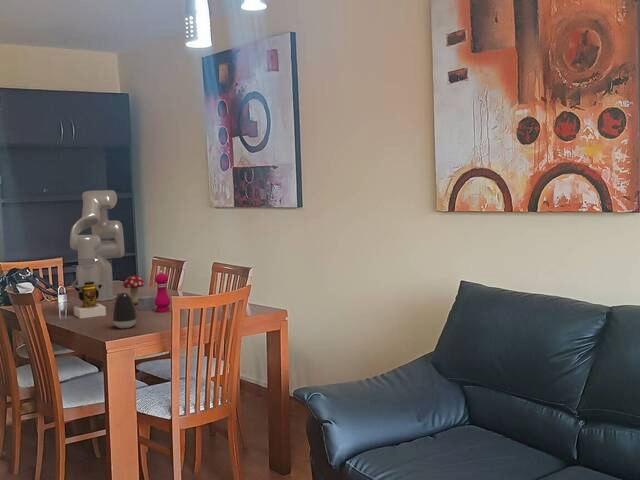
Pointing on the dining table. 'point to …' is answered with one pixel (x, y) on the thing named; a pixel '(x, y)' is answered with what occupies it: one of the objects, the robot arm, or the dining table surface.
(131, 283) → the decorative mushroom
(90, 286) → the condiment
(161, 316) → the dining table surface
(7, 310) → the dining table surface
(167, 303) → the pepper mill
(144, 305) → the slate cube
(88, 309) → the cream block
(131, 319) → the dark grey domed cylinder
